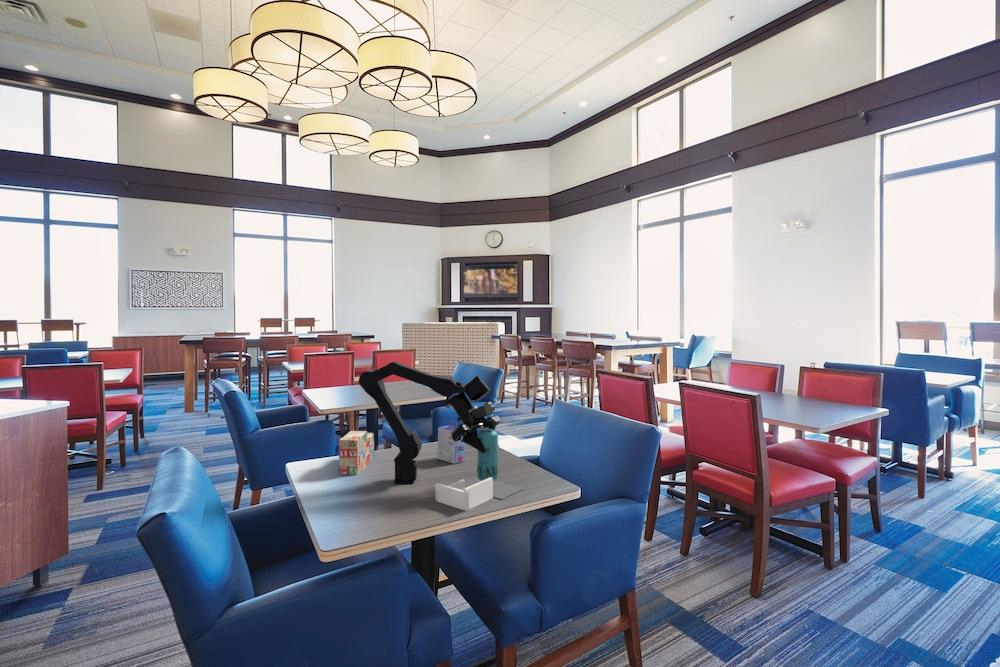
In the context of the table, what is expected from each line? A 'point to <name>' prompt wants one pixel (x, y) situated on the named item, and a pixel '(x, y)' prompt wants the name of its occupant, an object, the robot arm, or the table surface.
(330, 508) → the table surface
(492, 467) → the beverage bottle
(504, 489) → the mat
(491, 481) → the open-sided box
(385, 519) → the table surface
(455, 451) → the ink cartridge box
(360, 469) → the stack of blocks
